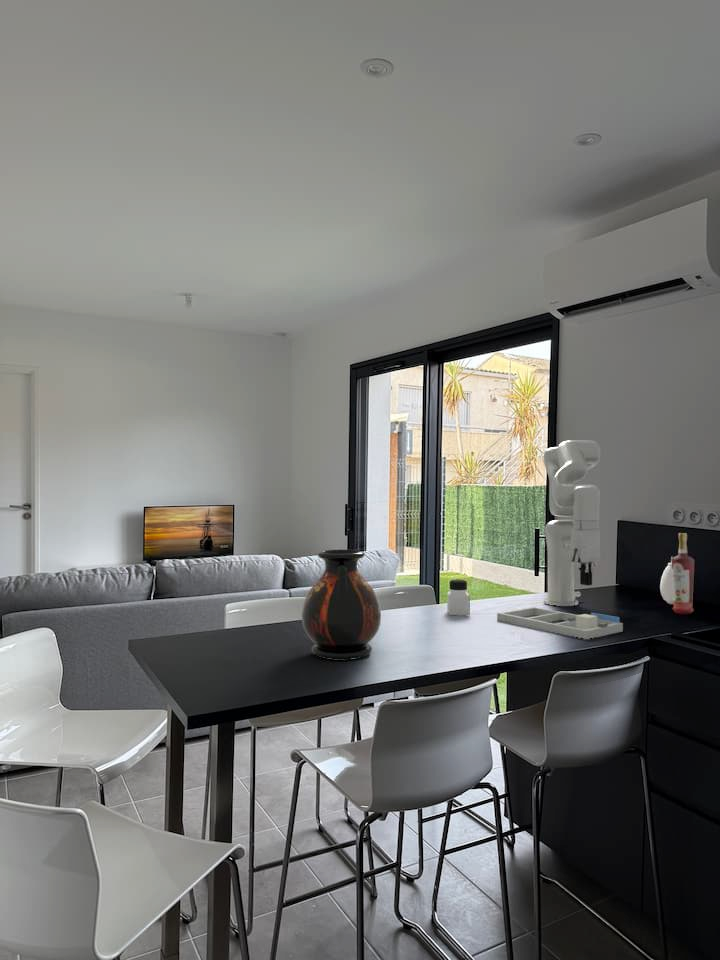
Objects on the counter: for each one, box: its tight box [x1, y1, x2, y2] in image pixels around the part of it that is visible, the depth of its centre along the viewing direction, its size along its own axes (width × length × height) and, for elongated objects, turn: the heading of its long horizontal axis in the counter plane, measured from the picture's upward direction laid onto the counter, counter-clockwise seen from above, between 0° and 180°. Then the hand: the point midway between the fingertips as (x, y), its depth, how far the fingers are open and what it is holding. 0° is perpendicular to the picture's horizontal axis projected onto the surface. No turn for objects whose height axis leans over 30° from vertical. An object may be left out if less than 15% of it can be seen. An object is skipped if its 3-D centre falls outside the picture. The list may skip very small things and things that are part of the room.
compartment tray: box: [496, 606, 624, 640], centre depth 227 cm, size 19×35×4 cm, turn 37°
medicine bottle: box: [446, 578, 471, 616], centre depth 247 cm, size 7×7×12 cm
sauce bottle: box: [659, 555, 674, 605], centre depth 264 cm, size 8×8×18 cm
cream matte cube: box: [576, 613, 597, 630], centre depth 218 cm, size 4×4×5 cm
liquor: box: [670, 532, 695, 616], centre depth 246 cm, size 7×7×28 cm
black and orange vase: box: [301, 549, 382, 659], centre depth 192 cm, size 22×22×28 cm
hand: (586, 584), depth 219 cm, fingers closed
